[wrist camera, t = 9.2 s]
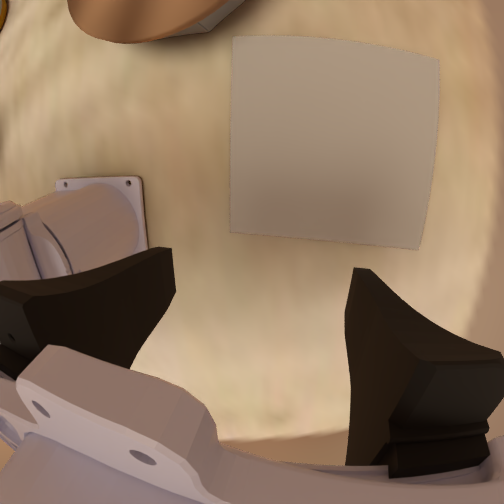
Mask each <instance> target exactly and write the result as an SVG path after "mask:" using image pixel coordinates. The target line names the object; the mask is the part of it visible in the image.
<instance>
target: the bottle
mask: <svg viewBox="0 0 504 504" xmlns="http://www.w3.org/2000/svg"><path fill="white" fill-rule="evenodd" d="M6 13H7V4H6V1H5V0H0V30H1V28H2V25H3V23H4V20H5V17H6Z"/></svg>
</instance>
